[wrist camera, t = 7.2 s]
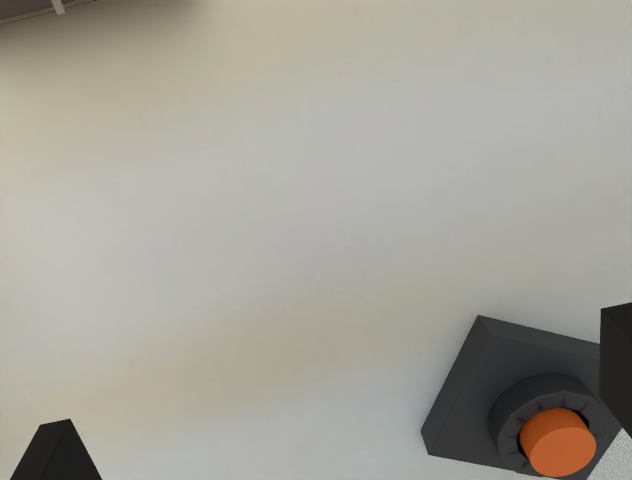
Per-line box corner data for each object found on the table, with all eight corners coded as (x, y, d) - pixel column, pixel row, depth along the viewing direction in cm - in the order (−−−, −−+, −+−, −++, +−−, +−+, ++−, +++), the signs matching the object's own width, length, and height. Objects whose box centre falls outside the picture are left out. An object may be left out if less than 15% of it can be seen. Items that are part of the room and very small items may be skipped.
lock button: (593, 413, 34) (609, 434, 32) (563, 459, 35) (576, 482, 34) (536, 401, 33) (549, 422, 31) (508, 449, 34) (519, 471, 33)
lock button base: (638, 353, 36) (678, 393, 33) (568, 459, 40) (596, 506, 37) (478, 314, 34) (501, 352, 31) (420, 430, 38) (434, 477, 35)
